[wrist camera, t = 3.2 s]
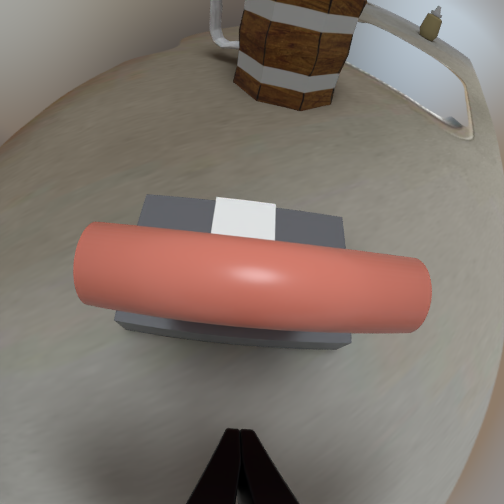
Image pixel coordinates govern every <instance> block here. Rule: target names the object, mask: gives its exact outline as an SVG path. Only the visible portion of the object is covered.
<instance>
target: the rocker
mask: <svg viewBox="0 0 504 504" xmlns="http://www.w3.org/2000/svg"><path fill="white" fill-rule="evenodd" d="M73 273H74V284H75V289H76V292H77V294H78V297H79V298H80V300H81V301H82V302H83V303H84V304H86V305H91V306H96V307H101V308H106V309H112V310H117V311H123V312H129V313H135V314H141V315H147V316H153V317H160V318H167V319H174V320H182V321H189V322H198V323H206V324H215V325H224V326H234V327H245V328H257V329H270V330H285V331H302V332H325V333H411V332H414V331H415V330H417V329H418V328H419V327H420V326H421V325H422V323H423V322H424V320H425V318H426V316H427V314H428V311H429V308H430V303H431V296H432V287H431V279H430V275H429V273H428V270H427V268H426V266H425V265H424V264H423V263H422V262H421V261H420V260H419V259H416V258H410V257H403V256H396V255H388V254H380V253H373V252H365V251H357V250H349V249H341V248H333V247H325V246H317V245H309V244H300V243H292V242H283V241H275V240H266V239H258V238H249V237H240V236H231V235H222V234H213V233H204V232H194V231H185V230H175V229H166V228H156V227H146V226H136V225H126V224H115V223H105V222H93V223H91V224H89V225H88V226H87V227H86V229H85V230H84V231H83V233H82V235H81V237H80V239H79V242H78V245H77V248H76V252H75V258H74V270H73Z"/></svg>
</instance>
